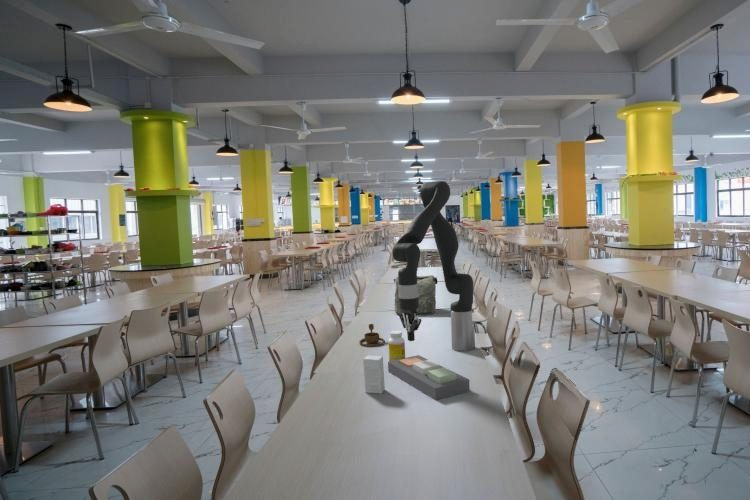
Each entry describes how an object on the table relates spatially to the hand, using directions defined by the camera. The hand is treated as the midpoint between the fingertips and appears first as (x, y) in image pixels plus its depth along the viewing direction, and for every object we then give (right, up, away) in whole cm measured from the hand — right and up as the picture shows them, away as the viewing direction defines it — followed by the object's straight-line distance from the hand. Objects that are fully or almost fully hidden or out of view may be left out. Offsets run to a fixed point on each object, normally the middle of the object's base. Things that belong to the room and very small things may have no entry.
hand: (411, 340), depth 178 cm
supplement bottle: (-5, -12, +13) cm, 18 cm away
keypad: (+5, -13, -8) cm, 16 cm away
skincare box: (-14, -15, -15) cm, 25 cm away
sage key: (+9, -11, -17) cm, 22 cm away
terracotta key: (0, -11, +1) cm, 11 cm away
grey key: (+5, -10, -8) cm, 14 cm away
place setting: (-13, -10, +47) cm, 50 cm away
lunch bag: (+11, -3, +104) cm, 105 cm away
